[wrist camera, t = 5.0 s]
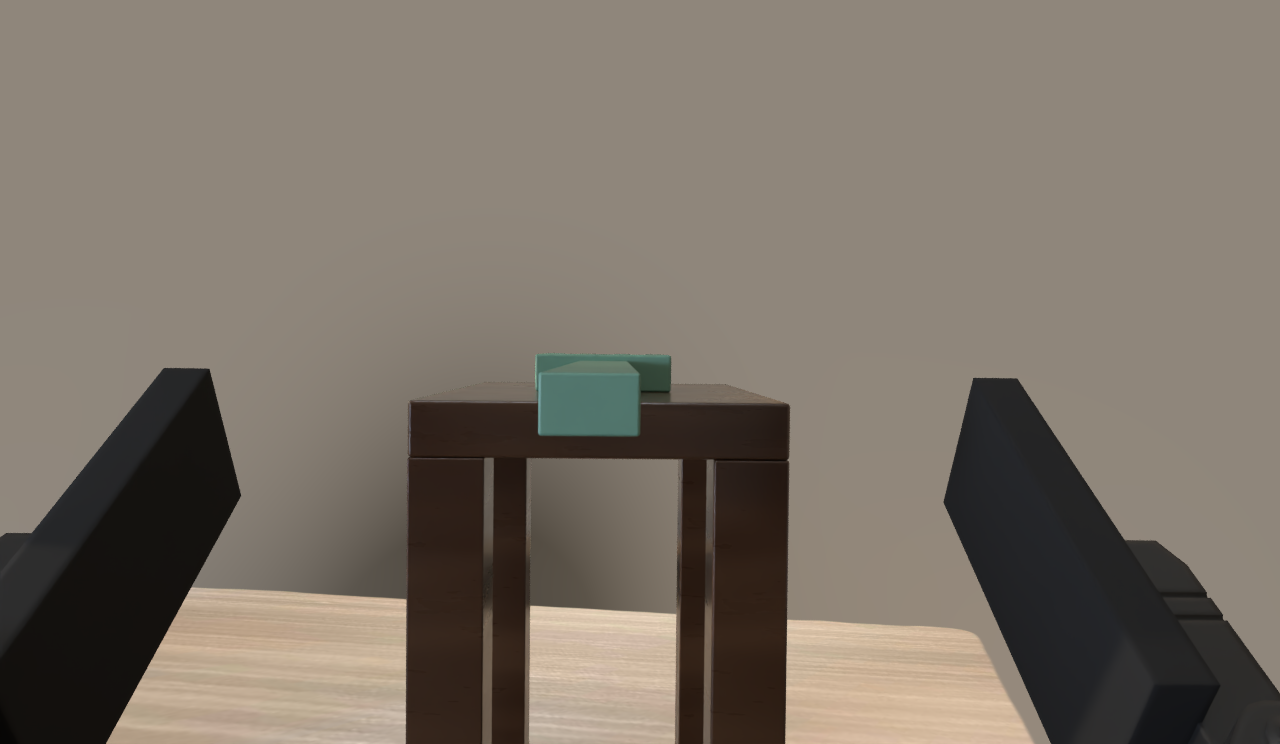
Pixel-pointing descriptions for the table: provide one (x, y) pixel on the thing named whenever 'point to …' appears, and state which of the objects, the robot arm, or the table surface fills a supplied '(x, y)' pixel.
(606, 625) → the table surface
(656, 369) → the fork
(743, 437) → the plant stand
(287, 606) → the table surface
